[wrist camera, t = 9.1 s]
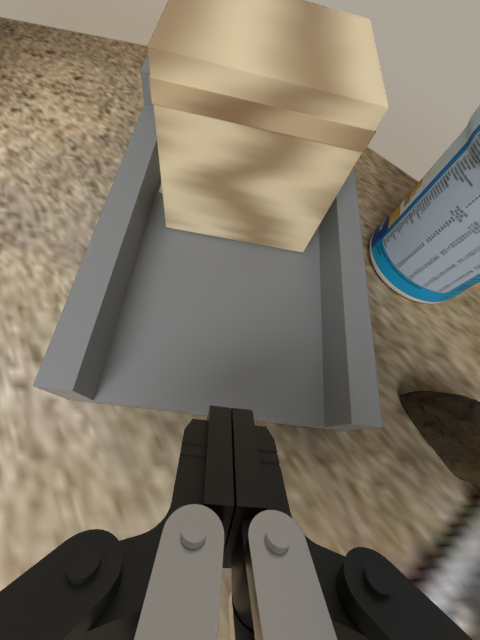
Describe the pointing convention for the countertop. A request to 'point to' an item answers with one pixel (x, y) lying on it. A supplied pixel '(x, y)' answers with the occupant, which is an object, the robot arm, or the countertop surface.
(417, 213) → the beverage bottle
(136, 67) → the countertop surface
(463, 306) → the countertop surface
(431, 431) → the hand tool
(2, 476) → the countertop surface
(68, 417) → the countertop surface
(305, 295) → the bay
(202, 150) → the wooden cube box
